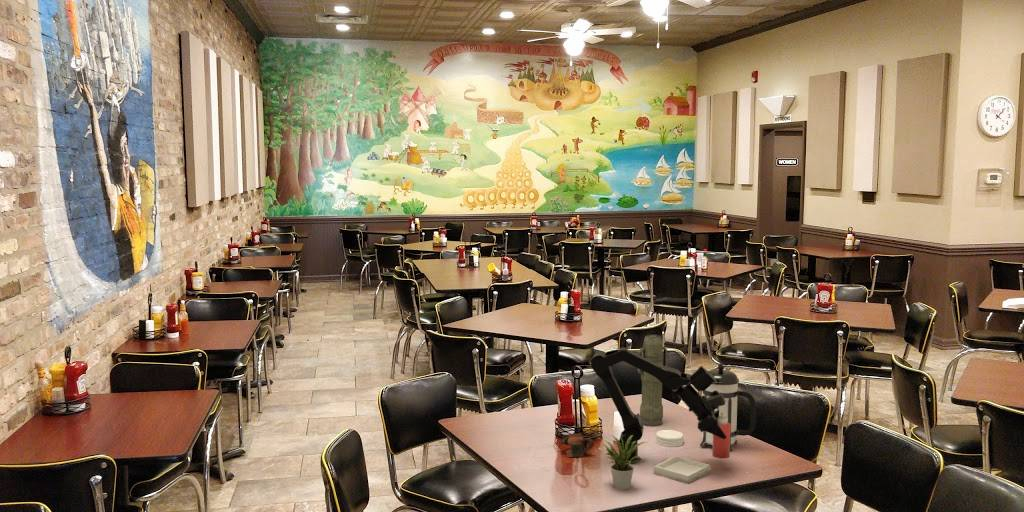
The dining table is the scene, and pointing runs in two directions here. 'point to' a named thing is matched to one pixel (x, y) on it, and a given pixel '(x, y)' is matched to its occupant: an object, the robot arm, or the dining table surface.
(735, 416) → the coffee press
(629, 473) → the house plant
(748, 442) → the dining table surface
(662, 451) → the dining table surface
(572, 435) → the pottery mug
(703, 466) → the tray
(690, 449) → the dining table surface
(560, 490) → the dining table surface
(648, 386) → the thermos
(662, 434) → the cream round disc
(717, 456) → the squeeze bottle
